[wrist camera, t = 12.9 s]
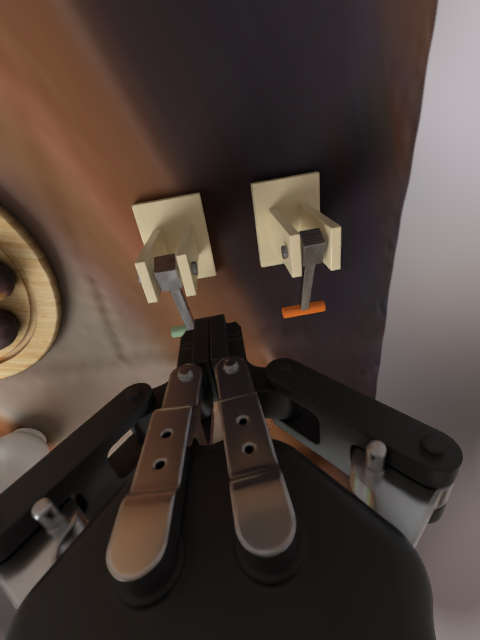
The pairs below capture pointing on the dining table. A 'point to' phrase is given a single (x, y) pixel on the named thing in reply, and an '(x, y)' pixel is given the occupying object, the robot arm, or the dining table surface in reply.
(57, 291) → the fruit bowl
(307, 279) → the lever
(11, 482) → the flower vase
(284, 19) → the dining table surface
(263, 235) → the bracket
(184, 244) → the bracket
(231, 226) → the dining table surface
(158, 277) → the lever
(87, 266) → the dining table surface
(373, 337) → the dining table surface
